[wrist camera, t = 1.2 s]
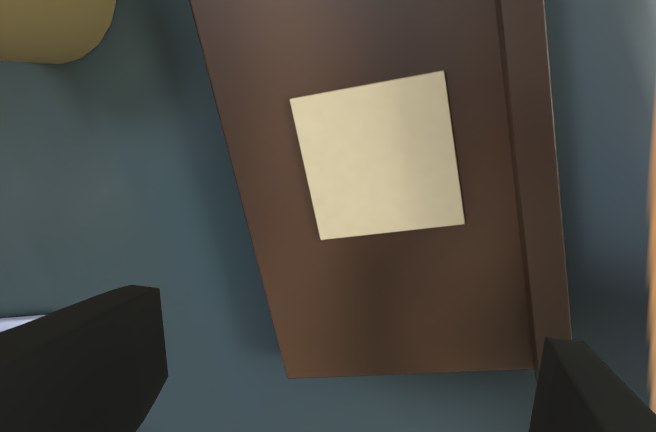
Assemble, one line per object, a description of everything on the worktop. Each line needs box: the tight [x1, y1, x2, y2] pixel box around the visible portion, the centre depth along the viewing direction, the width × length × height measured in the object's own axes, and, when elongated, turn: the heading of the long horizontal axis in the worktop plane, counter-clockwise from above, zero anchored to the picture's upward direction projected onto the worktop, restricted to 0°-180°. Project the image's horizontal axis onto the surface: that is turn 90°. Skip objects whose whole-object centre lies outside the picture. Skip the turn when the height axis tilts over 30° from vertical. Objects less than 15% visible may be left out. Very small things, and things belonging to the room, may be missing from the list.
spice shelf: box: [189, 0, 572, 382], centre depth 17 cm, size 10×18×4 cm, turn 12°
